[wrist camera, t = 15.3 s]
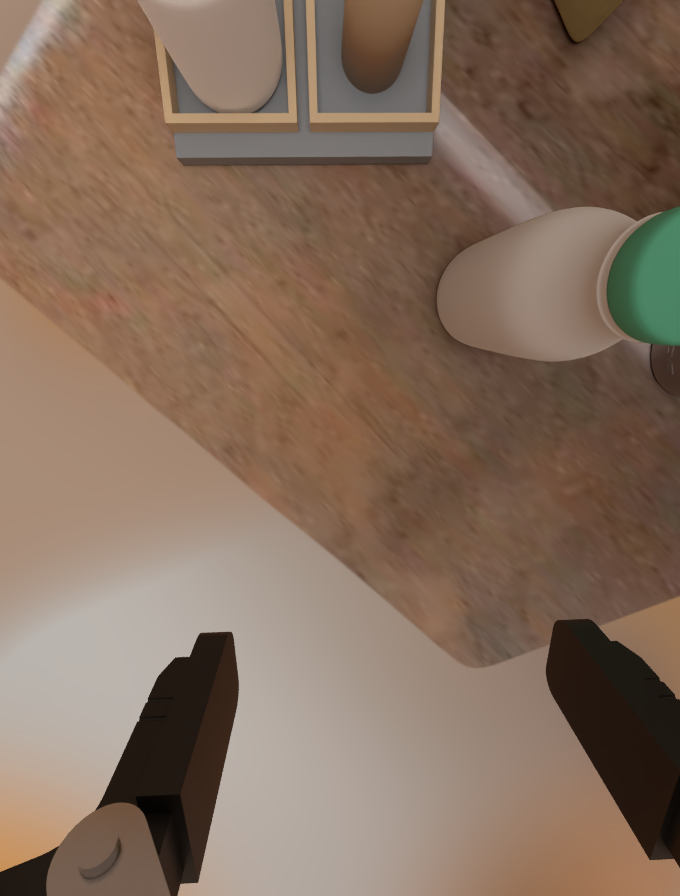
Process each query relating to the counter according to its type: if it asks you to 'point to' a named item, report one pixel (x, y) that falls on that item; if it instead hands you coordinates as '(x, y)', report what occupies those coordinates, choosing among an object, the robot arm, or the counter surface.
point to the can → (222, 48)
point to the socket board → (326, 90)
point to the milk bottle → (567, 285)
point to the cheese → (585, 15)
